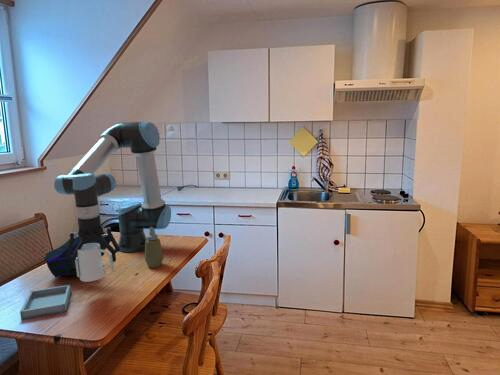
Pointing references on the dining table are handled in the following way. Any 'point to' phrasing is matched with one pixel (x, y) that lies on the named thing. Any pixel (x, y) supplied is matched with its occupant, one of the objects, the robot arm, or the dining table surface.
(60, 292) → the slate tray
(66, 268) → the decorative plant
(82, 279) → the mug
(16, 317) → the dining table surface
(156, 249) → the squeeze bottle
